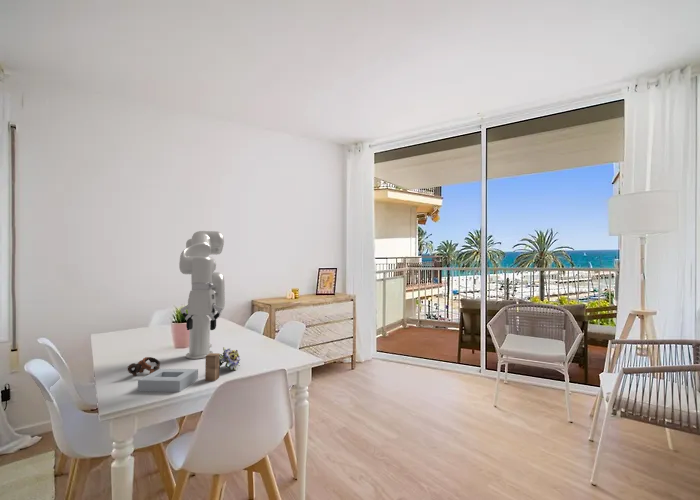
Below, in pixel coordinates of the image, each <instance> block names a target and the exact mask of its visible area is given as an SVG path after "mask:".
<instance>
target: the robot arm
mask: <svg viewBox="0 0 700 500" xmlns="http://www.w3.org/2000/svg"><path fill="white" fill-rule="evenodd" d="M224 243H225V239H224V236H223V234H222V232H220V231H215V230H212V231H211V230H208V231H207V230H199V231H195V232H194V233H193V234H192V235H191V238H188V239H187V241H186V243H185V249H183V250H182V251H181V254H180V257H179V263H178V264H179V270H180V272H181V274H183V275H191V278H190V279H191V280H190V281H191V282H190V283H191V290H190V291H189V294H188V300H187V305H185V306H183V307H182V308H180V309H179V310H180V312H181V314H182V316H183V318H184V320H186V325H185V327H186V330H187V331H189V345H188V346H189V347H188V348H189V352H187V353H186V354H185V357H186V359H189V360H196V359H197V360H199V359H206V355H208V354H210V353H214V352H213V351H212V350H211V349H210V348H212V347H213V345H212V344H211V343H210V341H211V338H210V337H211V336H210V335H211V332H210V331H214V330H216V328H217V319H218V318H220V316H221V315H222V312H223V310H224V308H225V304H226V301H225V299H226V297H225V295H226V292H225V286H226V285H225V277H224V274H223V273H221V272H219V271H218V272H217V271H216V269H217V261H216V260H215V259H214V258H213V255H216V256H217V255H220V254H222V253H223V249H224ZM210 255H212V257H211V256H210ZM215 271H216V272H215ZM210 319H211V320H210Z"/></svg>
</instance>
